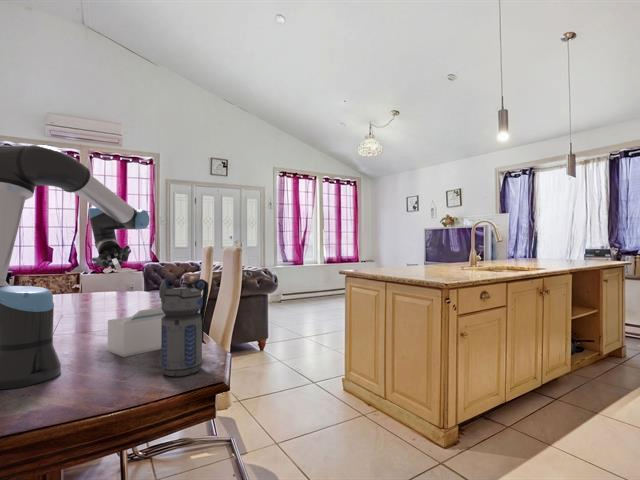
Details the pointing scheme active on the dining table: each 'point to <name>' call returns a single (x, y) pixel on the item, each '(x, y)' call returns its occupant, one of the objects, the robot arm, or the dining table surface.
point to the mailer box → (133, 336)
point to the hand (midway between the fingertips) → (118, 267)
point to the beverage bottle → (182, 327)
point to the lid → (146, 315)
